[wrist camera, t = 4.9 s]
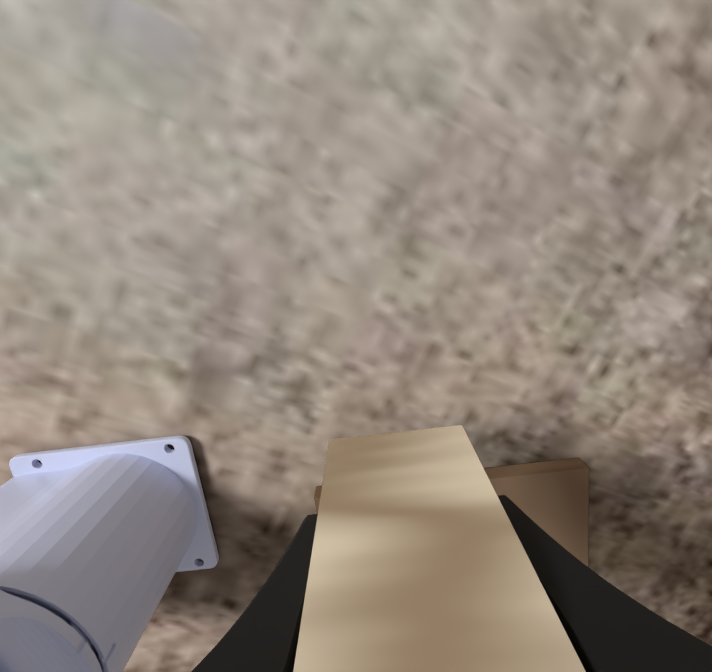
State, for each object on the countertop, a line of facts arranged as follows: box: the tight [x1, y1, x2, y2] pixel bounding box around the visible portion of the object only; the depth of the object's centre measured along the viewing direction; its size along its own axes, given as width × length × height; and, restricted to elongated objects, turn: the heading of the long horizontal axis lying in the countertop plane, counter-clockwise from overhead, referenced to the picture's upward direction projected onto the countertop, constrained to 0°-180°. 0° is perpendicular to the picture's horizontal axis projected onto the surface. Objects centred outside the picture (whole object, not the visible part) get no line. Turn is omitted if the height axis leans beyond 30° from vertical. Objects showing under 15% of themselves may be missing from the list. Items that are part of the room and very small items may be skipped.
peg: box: [293, 425, 586, 672], centre depth 9 cm, size 4×4×8 cm
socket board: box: [314, 458, 589, 567], centre depth 23 cm, size 14×20×4 cm
